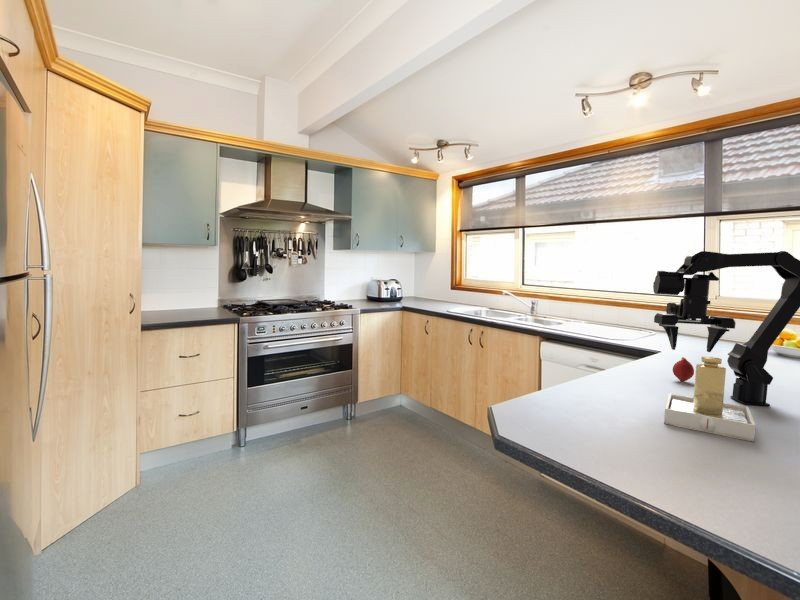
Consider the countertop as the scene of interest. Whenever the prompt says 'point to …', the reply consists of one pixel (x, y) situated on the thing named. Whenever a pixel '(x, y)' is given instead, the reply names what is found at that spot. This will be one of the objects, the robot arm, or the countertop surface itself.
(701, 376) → the weight
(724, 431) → the scale
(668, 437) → the countertop surface
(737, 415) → the silver square plate
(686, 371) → the onion
